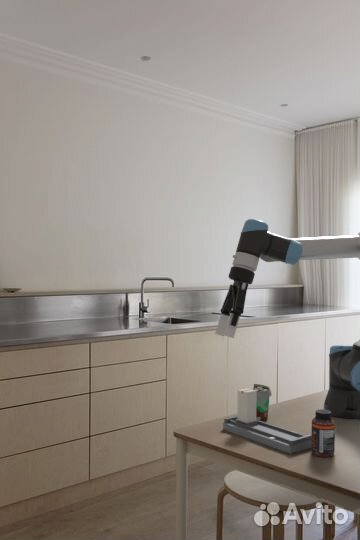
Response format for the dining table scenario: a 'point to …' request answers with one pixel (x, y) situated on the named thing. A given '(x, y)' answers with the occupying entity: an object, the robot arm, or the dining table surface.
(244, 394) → the fader tab
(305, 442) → the board
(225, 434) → the dining table surface
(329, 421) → the supplement bottle
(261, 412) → the food container
